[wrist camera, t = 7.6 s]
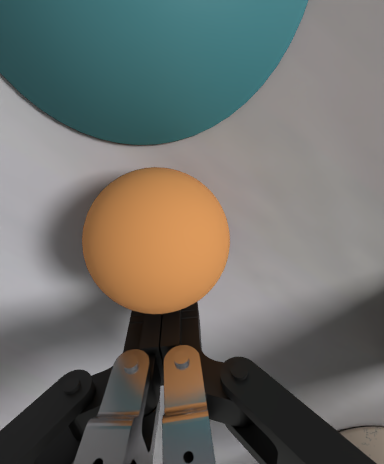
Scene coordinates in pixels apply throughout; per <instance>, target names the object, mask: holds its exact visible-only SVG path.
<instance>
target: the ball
mask: <svg viewBox="0 0 384 464" xmlns="http://www.w3.org/2000/svg"><path fill="white" fill-rule="evenodd" d="M82 246H83V255H84V259H85V262H86V266H87V269H88V271H89V273H90V275H91V277H92V278H93V280H94V282H95V283H96V284H97V286H98V287H99V288H100V289H101V290H102V292H103V293H105V294H106V295H107V296H108V297H109V298H110V299H112V300H113V301H114V302H116V303H118V304H119V305H121V306H123V307H125V308H127V309H130V310H133V311H137V312H141V313H146V314H164V313H171V312H175V311H178V310H181V309H184V308H186V307H188V306H190V305H192V304H194V303H195V302H197V301H198V300H200V299H201V298H203V297H204V296H205V295H206V294H207V293H208V292H209V291H210V290H211V289H212V288H213V286H214V285H215V284H216V282H217V281H218V279H219V278H220V276H221V274H222V272H223V270H224V268H225V265H226V262H227V258H228V254H229V247H230V236H229V228H228V223H227V219H226V216H225V214H224V211H223V209H222V207H221V205H220V203H219V202H218V200H217V199H216V197H215V196H214V195H213V194H212V192H211V191H210V190H209V189H208V188H207V187H206V186H205V185H203V184H202V183H201V182H200V181H198V180H197V179H195V178H193V177H191V176H190V175H188V174H186V173H183V172H180V171H177V170H173V169H169V168H157V167H153V168H144V169H139V170H135V171H132V172H129V173H127V174H124V175H122V176H121V177H119V178H117V179H116V180H114V181H113V182H111V183H110V184H109V185H108V186H106V187H105V188H104V189H103V190H102V192H101V193H100V194H99V195H98V196H97V198H96V199H95V200H94V202H93V204H92V205H91V207H90V209H89V211H88V213H87V216H86V220H85V223H84V227H83V236H82Z"/></svg>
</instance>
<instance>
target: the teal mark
mask: <svg viewBox="0 0 384 464" xmlns="http://www.w3.org/2000/svg"><path fill="white" fill-rule="evenodd" d="M307 3H308V0H0V73H1V74H2V75H3V76H4V77H5V78H6V79H7V80H8V81H9V82H10V83H11V84H12V85H13V86H14V87H15V88H16V89H17V90H18V91H19V92H20V93H21V94H22V95H23V96H25V97H26V98H27V99H28V100H30V101H31V102H32V103H33V104H34V105H36V106H37V107H38V108H39V109H41V110H42V111H44V112H45V113H47V114H49V115H50V116H52V117H53V118H55V119H56V120H58V121H59V122H61V123H63V124H65V125H67V126H69V127H71V128H73V129H75V130H77V131H79V132H82V133H85V134H88V135H90V136H93V137H96V138H99V139H103V140H107V141H112V142H116V143H124V144H134V145H149V144H161V143H167V142H173V141H178V140H181V139H184V138H187V137H191V136H194V135H196V134H198V133H200V132H203V131H205V130H207V129H209V128H211V127H213V126H215V125H216V124H218V123H219V122H221V121H223V120H224V119H226V118H227V117H229V116H230V115H231V114H233V113H234V112H235V111H236V110H238V109H239V108H240V107H241V106H242V105H244V104H245V103H246V102H247V101H248V100H249V99H250V98H251V97H252V96H253V95H254V94H255V93H256V92H257V91H258V90H259V88H260V87H261V86H262V85H263V84H264V83H265V81H266V80H267V79H268V77H269V76H270V75H271V73H272V72H273V71H274V69H275V68H276V67H277V65H278V63H279V62H280V60H281V58H282V57H283V55H284V53H285V52H286V50H287V48H288V47H289V45H290V43H291V41H292V39H293V37H294V35H295V32H296V30H297V28H298V26H299V24H300V22H301V19H302V17H303V14H304V11H305V8H306V5H307Z"/></svg>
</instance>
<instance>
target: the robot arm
mask: <svg viewBox="0 0 384 464" xmlns="http://www.w3.org/2000/svg"><path fill="white" fill-rule="evenodd" d="M162 385H164V405H165V412H164V415H163V419H162V439H163V464H215V457H214V450H213V443H212V436H211V429H210V422H209V419H211V420H215V421H218V422H222V423H225V425H226V427H227V428H228V429H229V430H230V432H231V433H232V434H233V435H234V436H235V437H236V438H237V439H238V440H239V442H240V443H241V444H242V445H243V446H244V447H245V448H246V449H247V450H248V451H249V453H250V454H251V455H252V456H253V457H254V458H255V459H256V460H257V461H258V463H259V464H377V463H376V462H374V461H373V460H372V459H371V458H369V457H368V456H367V455H366V454H365V453H363V452H362V451H361V450H360V449H358V448H357V447H356V446H355V445H354V444H352V443H351V442H350V441H349V440H347V439H346V438H345V437H344V436H343V435H341V434H340V433H339V432H338V431H336V430H335V429H334V428H333V427H332V426H330V425H329V424H328V423H327V422H325V421H324V420H323V419H322V418H321V417H319V416H318V415H317V414H316V413H314V412H313V411H312V410H311V409H310V408H308V407H307V406H306V405H305V404H303V403H302V402H301V401H300V400H299V399H297V398H296V397H295V396H294V395H292V394H291V393H290V392H289V391H288V390H286V389H285V388H284V387H283V386H281V385H280V384H279V383H278V382H277V381H275V380H274V379H273V378H272V377H270V376H269V375H268V374H267V373H266V372H264V371H263V370H262V369H261V368H259V367H258V366H257V365H256V364H255V363H253V362H252V361H251V360H249V359H247V358H244V357H233V358H230V359H228V360H227V361H225V362H224V363H223V362H218V361H214V360H212V359H210V358H208V357H207V356H205V355H204V353H203V352H202V348H201V332H200V320H199V311H198V303H197V302H195V303H194V304H192V305H190V306H188V307H186V308H184V309H181V310H178V311H175V312H171V313H164V314H146V313H141V312H137V311H133V310H132V312H131V317H130V322H129V327H128V332H127V336H126V341H125V346H124V351H123V353H122V354H121V355H120V356H119V357H118V358H117V359H116V361H115V363H114V365H113V366H112V367H111V368H109V369H107V370H105V371H103V372H100V373H97V374H95V375H92V376H91V375H90V374H89V373H88V372H87V371H85V370H74V371H71V372H69V373H67V374H65V375H64V376H63V377H61V378H60V379H59V380H58V381H57V382H56V383H55V384H53V385H52V386H51V387H50V388H49V389H48V390H47V391H45V392H44V393H43V394H42V395H41V396H40V397H39V398H37V399H36V400H35V401H34V402H33V403H32V404H31V405H29V406H28V407H27V408H26V409H25V410H24V411H23V412H21V413H20V414H19V415H18V416H17V417H16V418H14V419H13V420H12V421H11V422H10V423H9V424H8V425H6V426H5V427H4V428H3V429H2V430H1V431H0V464H153V452H154V445H155V438H156V431H157V424H158V417H159V410H160V400H159V398H160V386H162Z"/></svg>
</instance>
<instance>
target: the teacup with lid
mask: <svg viewBox="0 0 384 464" xmlns="http://www.w3.org/2000/svg"><path fill="white" fill-rule="evenodd" d="M339 433H340V434H341V435H343V436H344V437H345V438H346V439H347V440H349V441H350V442H351V443H352V444H354V445H355V446H356V447H357V448H358V449H360V450H361V451H362V452H363V453H365V454H366V455H367V456H368V457H369V458H371V459H372V460H373V461H374V462H376V463H377V464H384V427H374V426H371V427H359V428H353V429H348V430H344V431H341V432H339Z"/></svg>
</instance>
